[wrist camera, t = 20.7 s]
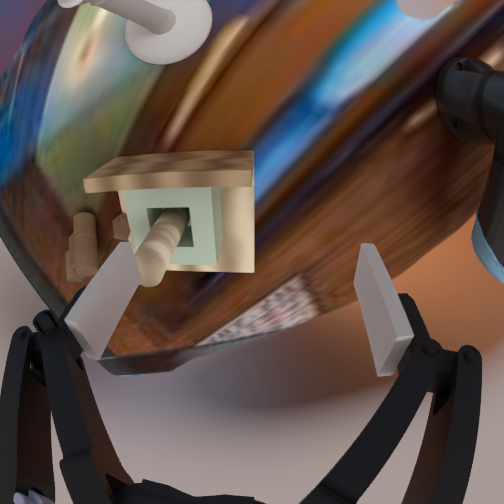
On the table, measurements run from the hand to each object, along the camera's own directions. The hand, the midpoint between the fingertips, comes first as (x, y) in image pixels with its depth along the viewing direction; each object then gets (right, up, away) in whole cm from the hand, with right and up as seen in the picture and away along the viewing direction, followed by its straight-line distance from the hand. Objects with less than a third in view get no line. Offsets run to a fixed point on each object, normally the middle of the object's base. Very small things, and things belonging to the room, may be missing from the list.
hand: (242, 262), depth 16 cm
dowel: (-10, +7, +27) cm, 30 cm away
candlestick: (-11, +32, +13) cm, 37 cm away
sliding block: (-10, +8, +28) cm, 31 cm away
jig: (-10, +7, +30) cm, 32 cm away
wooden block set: (-29, +5, +32) cm, 43 cm away
